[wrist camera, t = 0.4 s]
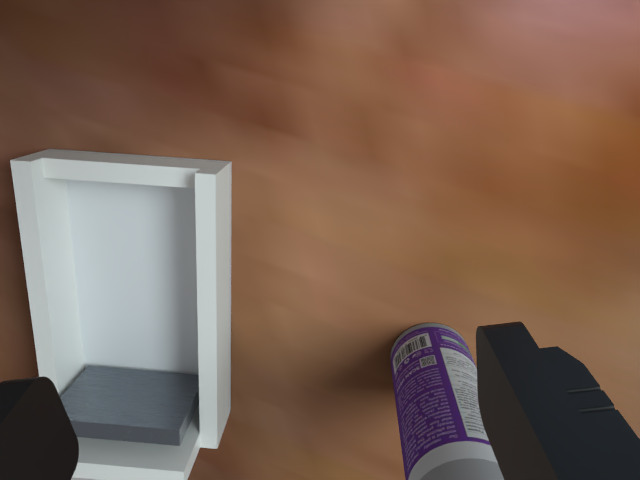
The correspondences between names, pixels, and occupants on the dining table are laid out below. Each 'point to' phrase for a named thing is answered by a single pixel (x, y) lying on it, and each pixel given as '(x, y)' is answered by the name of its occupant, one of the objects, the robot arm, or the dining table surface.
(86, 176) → the white drawer
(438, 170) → the dining table surface
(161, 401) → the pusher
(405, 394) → the container
